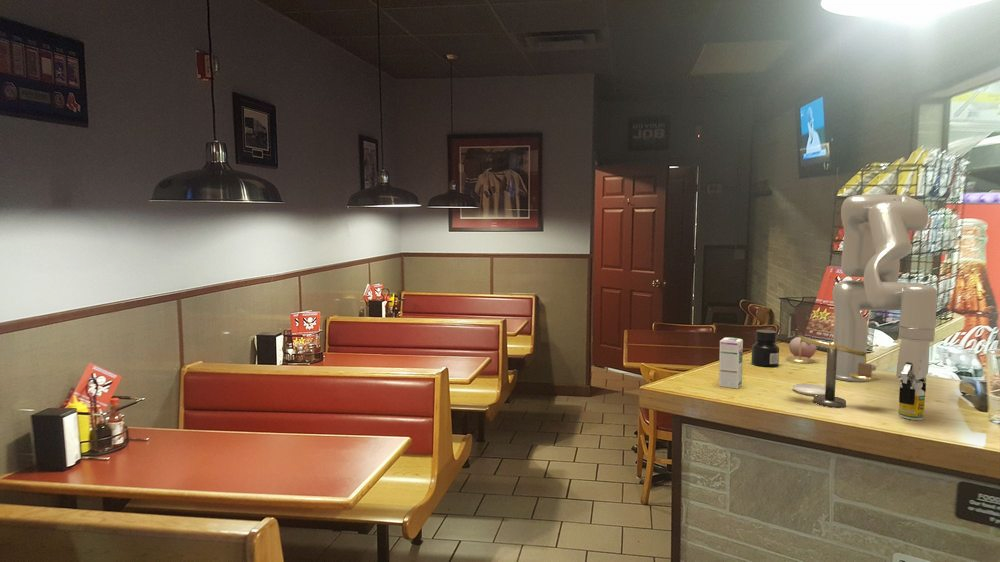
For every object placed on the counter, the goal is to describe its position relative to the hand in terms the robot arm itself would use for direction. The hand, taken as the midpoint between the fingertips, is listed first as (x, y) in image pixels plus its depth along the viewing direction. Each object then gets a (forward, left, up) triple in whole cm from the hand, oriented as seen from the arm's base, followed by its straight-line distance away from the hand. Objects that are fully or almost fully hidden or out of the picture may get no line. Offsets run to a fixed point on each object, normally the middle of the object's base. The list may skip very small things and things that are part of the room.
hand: (912, 400), depth 157 cm
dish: (+5, -27, -5) cm, 28 cm away
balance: (+10, -16, -5) cm, 19 cm away
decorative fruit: (-24, -62, -5) cm, 67 cm away
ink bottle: (-7, -61, -5) cm, 62 cm away
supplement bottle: (0, 0, -5) cm, 5 cm away
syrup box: (+24, -40, -5) cm, 47 cm away
